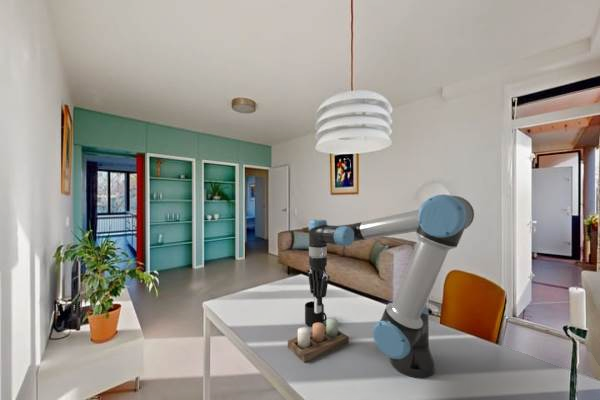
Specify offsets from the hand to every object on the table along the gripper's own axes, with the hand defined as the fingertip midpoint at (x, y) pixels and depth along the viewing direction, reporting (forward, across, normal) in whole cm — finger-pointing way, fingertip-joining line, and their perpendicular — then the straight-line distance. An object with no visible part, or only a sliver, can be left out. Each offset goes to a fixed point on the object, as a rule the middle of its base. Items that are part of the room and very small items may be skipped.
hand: (318, 312), depth 107 cm
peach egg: (+11, 0, 0) cm, 11 cm away
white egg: (+11, 0, +7) cm, 14 cm away
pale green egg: (+11, 0, -8) cm, 14 cm away
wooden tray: (+14, 0, 0) cm, 14 cm away
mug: (+14, +16, -11) cm, 24 cm away
